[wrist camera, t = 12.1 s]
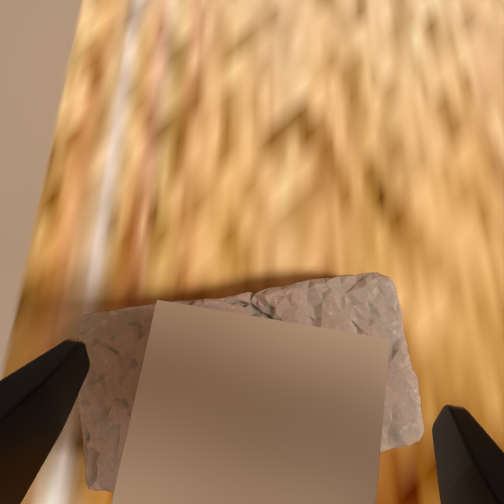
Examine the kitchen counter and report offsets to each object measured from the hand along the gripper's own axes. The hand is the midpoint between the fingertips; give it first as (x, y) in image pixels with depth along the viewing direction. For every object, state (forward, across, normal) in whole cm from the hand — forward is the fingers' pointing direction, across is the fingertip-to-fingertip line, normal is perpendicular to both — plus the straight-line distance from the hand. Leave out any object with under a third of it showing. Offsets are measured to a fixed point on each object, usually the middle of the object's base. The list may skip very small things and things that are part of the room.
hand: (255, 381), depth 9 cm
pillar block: (+5, 0, +7) cm, 8 cm away
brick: (+9, +1, +10) cm, 13 cm away
